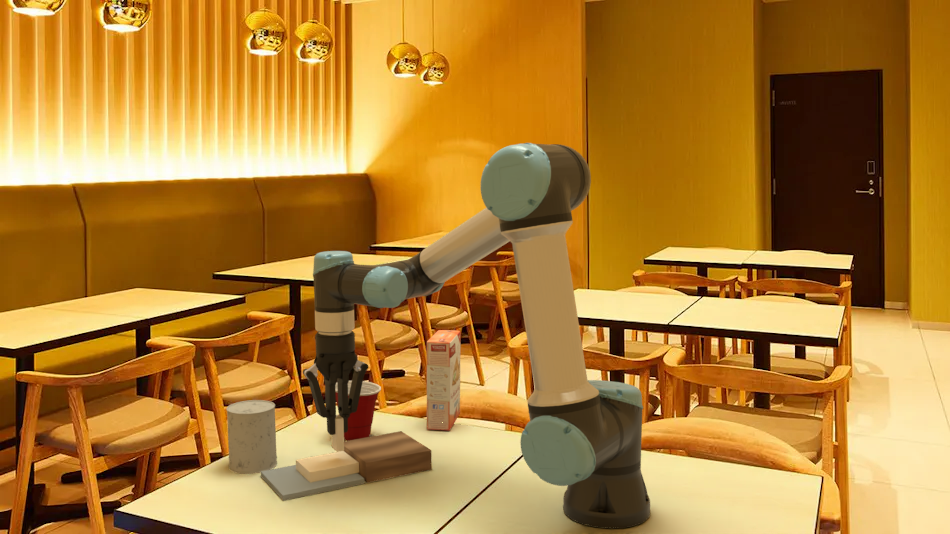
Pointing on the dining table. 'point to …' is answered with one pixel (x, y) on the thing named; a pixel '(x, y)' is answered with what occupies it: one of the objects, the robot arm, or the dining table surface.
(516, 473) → the dining table surface
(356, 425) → the plastic cup
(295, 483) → the mat
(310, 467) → the tile
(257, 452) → the speckled stone pillar
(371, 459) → the brown block
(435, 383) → the cracker box
